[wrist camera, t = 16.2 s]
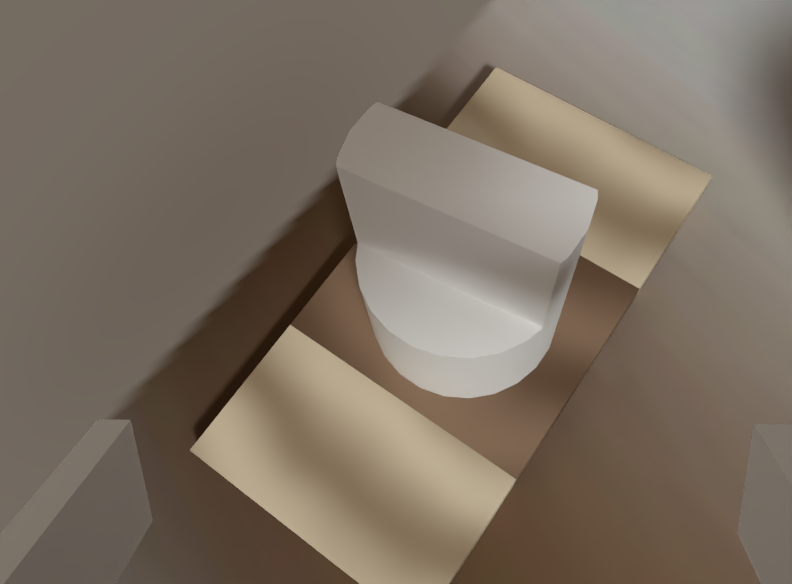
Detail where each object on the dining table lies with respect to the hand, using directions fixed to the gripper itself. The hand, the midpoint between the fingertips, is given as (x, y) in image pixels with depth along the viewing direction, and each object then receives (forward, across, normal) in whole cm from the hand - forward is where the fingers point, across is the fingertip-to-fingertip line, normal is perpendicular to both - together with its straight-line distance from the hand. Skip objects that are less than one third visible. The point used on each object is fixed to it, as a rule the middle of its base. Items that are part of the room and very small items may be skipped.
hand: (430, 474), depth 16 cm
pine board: (+21, 0, -6) cm, 22 cm away
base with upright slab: (+20, 0, -5) cm, 21 cm away
